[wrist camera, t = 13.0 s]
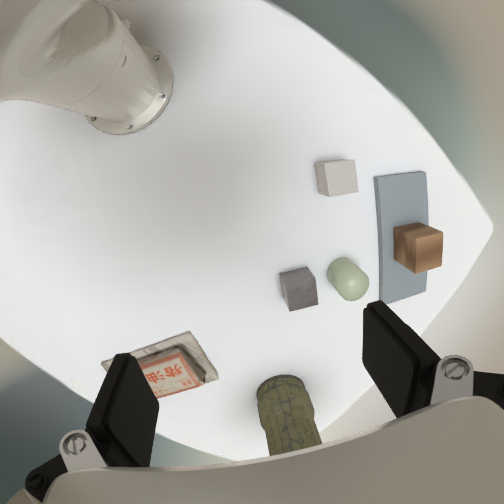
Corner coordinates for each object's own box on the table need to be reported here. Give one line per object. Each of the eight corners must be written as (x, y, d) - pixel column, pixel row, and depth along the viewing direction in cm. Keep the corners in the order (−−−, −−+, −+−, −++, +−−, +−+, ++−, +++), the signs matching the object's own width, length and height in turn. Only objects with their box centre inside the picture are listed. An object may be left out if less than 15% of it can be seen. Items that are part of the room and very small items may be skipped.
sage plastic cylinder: (325, 261, 41) (338, 274, 36) (353, 255, 41) (368, 267, 36) (328, 288, 42) (340, 304, 38) (355, 282, 42) (369, 296, 38)
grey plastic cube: (314, 163, 37) (324, 164, 33) (342, 159, 37) (354, 160, 33) (318, 192, 38) (329, 196, 34) (345, 188, 38) (358, 191, 34)
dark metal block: (279, 273, 41) (285, 285, 37) (306, 266, 41) (315, 277, 37) (283, 298, 42) (289, 311, 38) (310, 291, 42) (318, 304, 38)
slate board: (373, 177, 38) (377, 177, 37) (421, 171, 38) (425, 171, 37) (379, 302, 44) (382, 305, 43) (422, 288, 44) (425, 291, 43)
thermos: (244, 407, 48) (269, 586, 15) (274, 363, 46) (330, 570, 12) (285, 416, 50) (327, 576, 17) (318, 374, 47) (392, 552, 14)
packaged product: (128, 416, 42) (93, 377, 39) (134, 398, 46) (102, 359, 43) (219, 392, 41) (187, 347, 38) (219, 373, 46) (190, 328, 43)
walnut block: (393, 227, 39) (416, 238, 33) (418, 222, 39) (443, 232, 34) (393, 259, 41) (415, 274, 35) (418, 252, 41) (441, 265, 35)
